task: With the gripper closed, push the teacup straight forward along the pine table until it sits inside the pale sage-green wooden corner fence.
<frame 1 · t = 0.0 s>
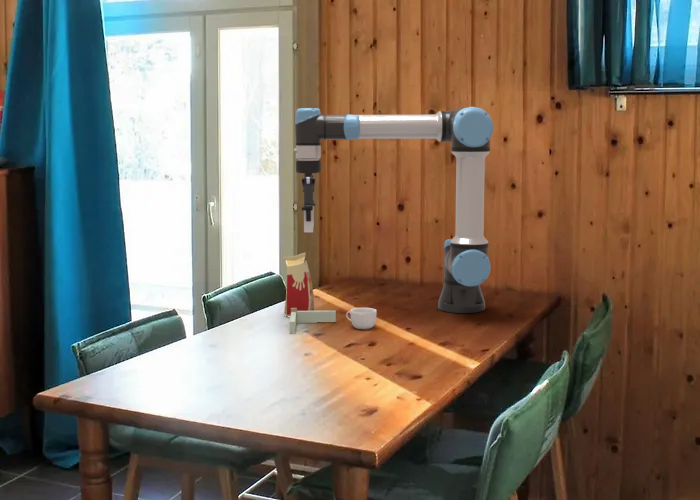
hand: (309, 229, 273), 28 cm above the table, fingers open, 13 cm apart
teacup: (360, 328, 266), on the table
milk carton: (298, 315, 285), on the table
corner fence: (306, 327, 266), on the table
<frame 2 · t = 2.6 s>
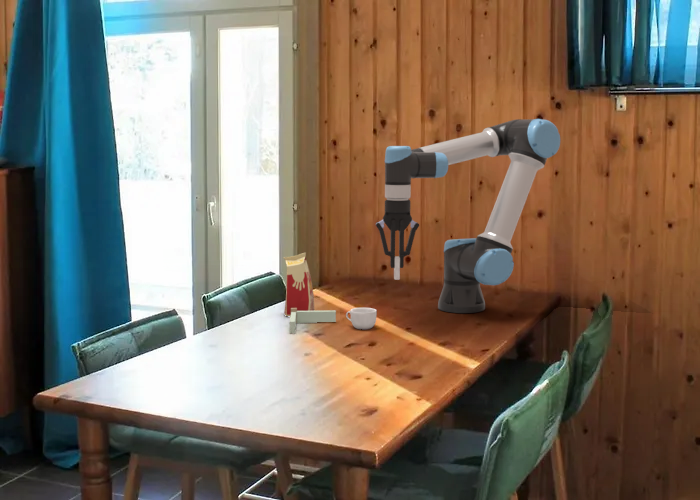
hand: (396, 278, 264), 15 cm above the table, fingers closed
nothing on the table moved.
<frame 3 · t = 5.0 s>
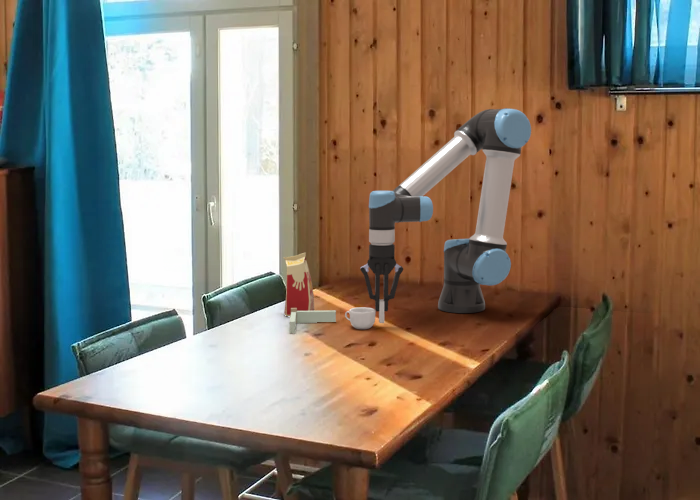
hand: (381, 322, 266), 2 cm above the table, fingers closed
teacup: (359, 327, 266), on the table, touching gripper
everything else where it was.
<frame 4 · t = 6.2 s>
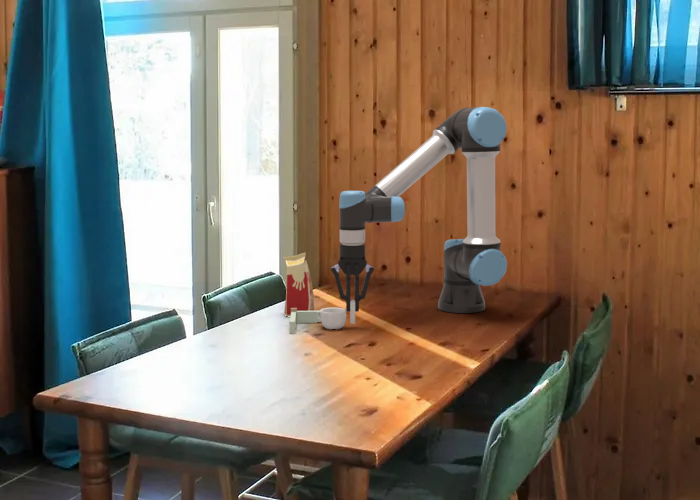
hand: (352, 322, 266), 2 cm above the table, fingers closed
teacup: (330, 328, 266), on the table, touching gripper
everything else where it was.
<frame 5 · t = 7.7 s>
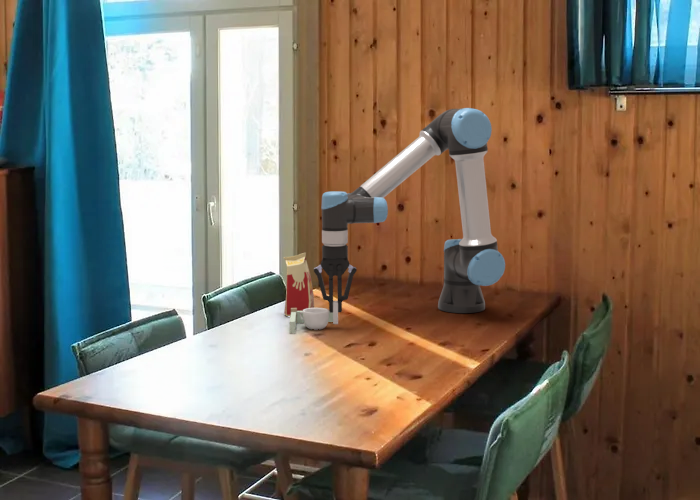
hand: (335, 323, 266), 1 cm above the table, fingers closed
teacup: (313, 328, 266), on the table, touching gripper
everything else where it was.
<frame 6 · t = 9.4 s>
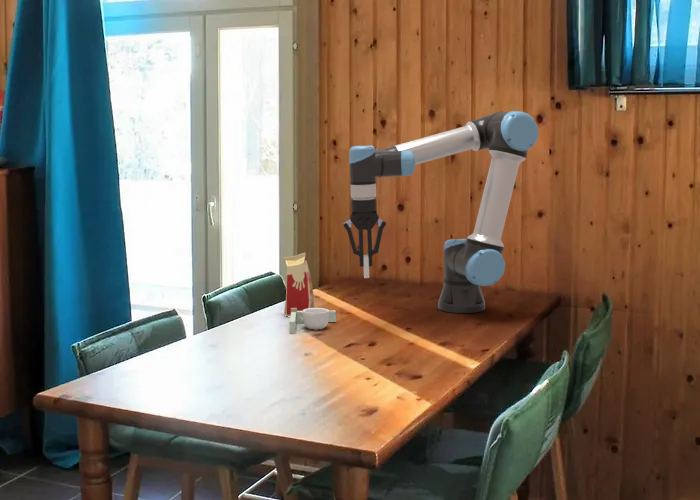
hand: (366, 277, 267), 15 cm above the table, fingers closed
teacup: (313, 328, 266), on the table
everything else where it was.
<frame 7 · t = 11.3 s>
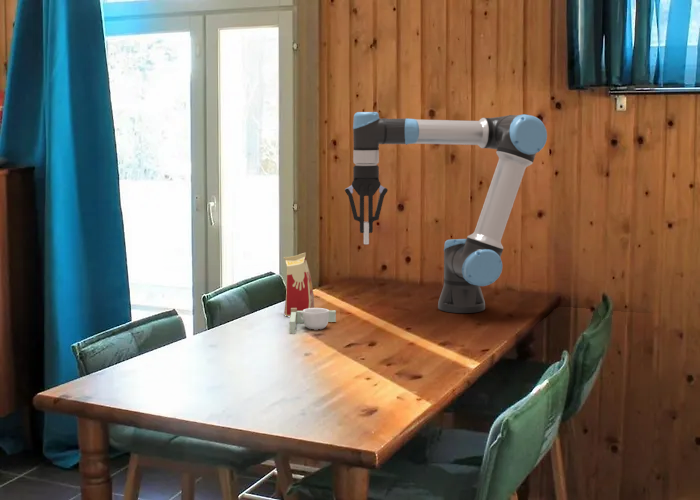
hand: (366, 243, 268), 24 cm above the table, fingers closed
nothing on the table moved.
at the end: teacup inside the target area (0.5 cm from its centre), on the table; teacup moved 14.1 cm from its start; teacup tilted 0° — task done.
